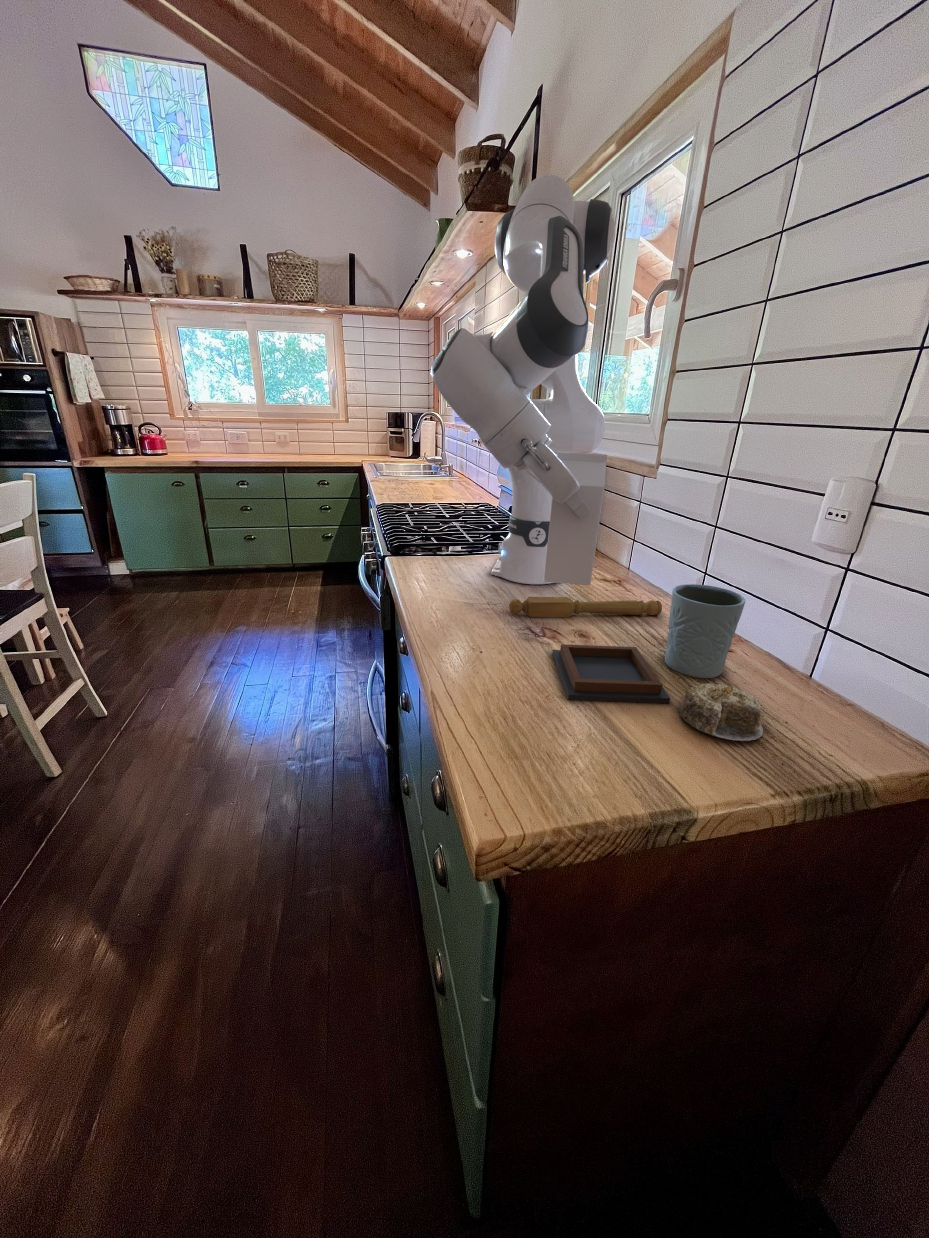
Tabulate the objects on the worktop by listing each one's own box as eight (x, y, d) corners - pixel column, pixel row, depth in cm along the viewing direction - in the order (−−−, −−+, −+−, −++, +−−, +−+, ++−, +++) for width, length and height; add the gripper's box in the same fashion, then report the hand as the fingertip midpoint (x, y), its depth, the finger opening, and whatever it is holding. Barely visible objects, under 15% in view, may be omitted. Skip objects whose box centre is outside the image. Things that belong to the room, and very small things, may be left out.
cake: (661, 709, 68) (667, 673, 66) (721, 701, 70) (728, 666, 69) (715, 748, 59) (724, 707, 57) (782, 737, 61) (792, 698, 60)
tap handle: (664, 603, 96) (511, 602, 94) (661, 617, 97) (509, 617, 95) (657, 597, 99) (508, 596, 97) (654, 612, 100) (507, 611, 98)
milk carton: (590, 587, 76) (608, 456, 68) (543, 582, 77) (556, 454, 70) (589, 573, 82) (606, 453, 75) (546, 569, 84) (558, 450, 76)
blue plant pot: (694, 685, 73) (713, 609, 68) (644, 656, 81) (658, 587, 77) (741, 672, 77) (761, 600, 72) (689, 646, 85) (704, 580, 81)
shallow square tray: (552, 654, 81) (553, 641, 80) (637, 657, 81) (640, 644, 80) (567, 699, 68) (569, 685, 67) (669, 703, 68) (672, 688, 67)
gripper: (546, 424, 61) (613, 507, 65) (529, 421, 80) (582, 485, 84) (508, 460, 63) (575, 539, 67) (499, 449, 82) (553, 511, 86)
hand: (579, 509), depth 75 cm, fingers closed on milk carton, 7 cm apart
